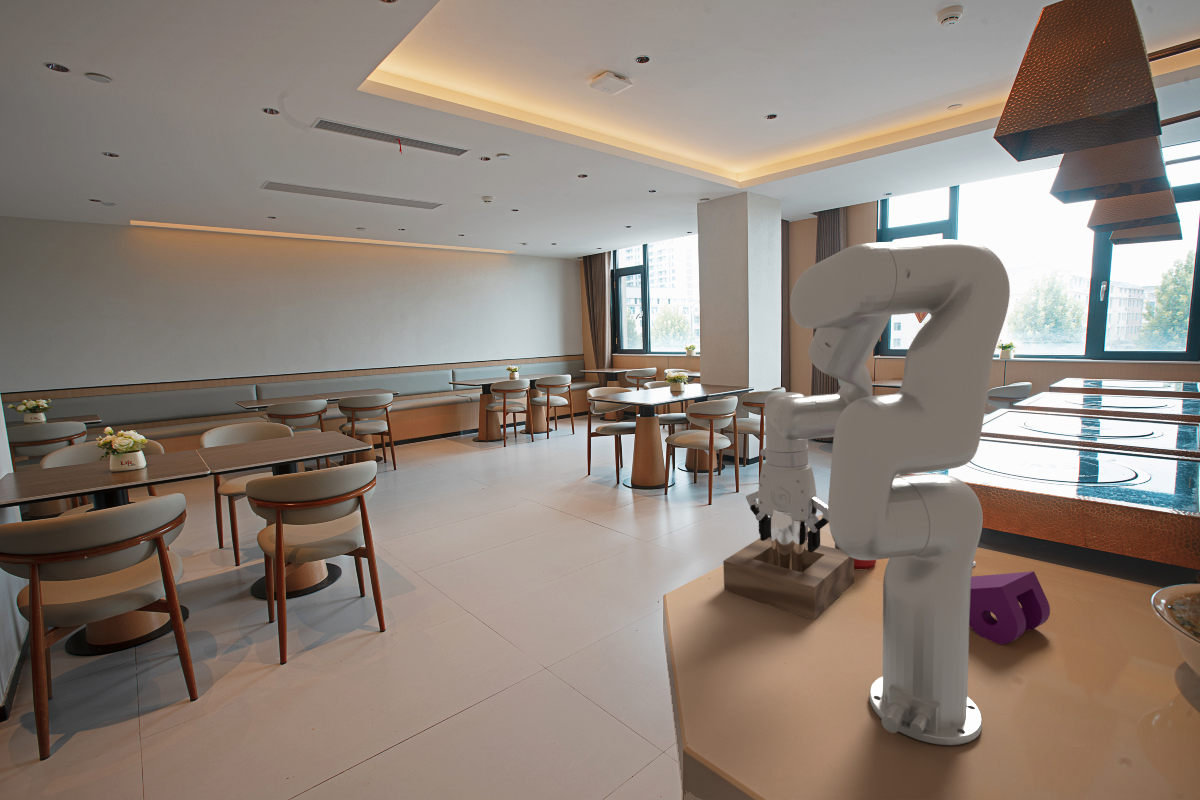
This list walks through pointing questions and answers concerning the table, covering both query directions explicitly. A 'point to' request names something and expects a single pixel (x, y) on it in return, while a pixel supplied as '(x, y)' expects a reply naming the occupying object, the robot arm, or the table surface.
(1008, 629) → the mounting bracket
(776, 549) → the silver metal cup
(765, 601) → the walnut well
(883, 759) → the table surface
